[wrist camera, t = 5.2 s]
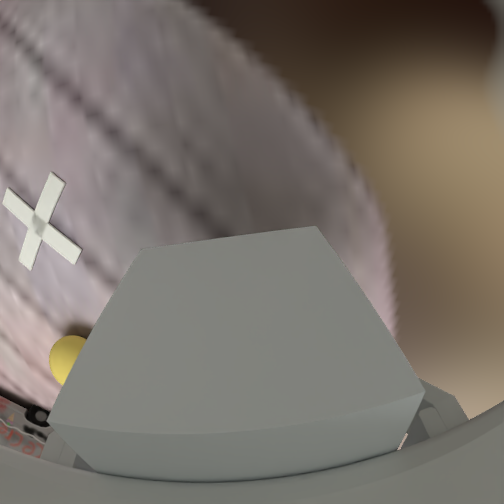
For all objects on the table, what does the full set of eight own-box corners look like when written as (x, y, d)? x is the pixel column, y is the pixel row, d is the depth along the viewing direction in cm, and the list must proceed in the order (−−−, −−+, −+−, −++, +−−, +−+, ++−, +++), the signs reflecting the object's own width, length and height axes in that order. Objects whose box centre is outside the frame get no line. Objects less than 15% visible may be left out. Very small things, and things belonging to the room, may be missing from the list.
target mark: (-6, 236, 20) (-7, 236, 19) (23, 148, 17) (21, 148, 17) (62, 294, 22) (61, 295, 22) (101, 211, 20) (100, 212, 19)
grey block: (141, 249, 12) (46, 420, 4) (315, 225, 12) (425, 391, 4) (182, 372, 15) (163, 522, 7) (317, 356, 15) (362, 504, 7)
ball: (55, 324, 23) (31, 357, 19) (96, 323, 23) (74, 361, 19) (75, 364, 25) (57, 398, 21) (115, 365, 25) (99, 404, 21)
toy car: (-45, 357, 27) (-74, 395, 17) (73, 418, 30) (50, 476, 20) (-24, 399, 31) (-46, 435, 21) (87, 452, 34) (71, 502, 24)
